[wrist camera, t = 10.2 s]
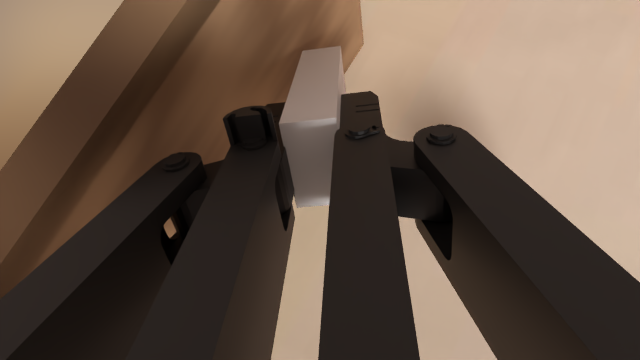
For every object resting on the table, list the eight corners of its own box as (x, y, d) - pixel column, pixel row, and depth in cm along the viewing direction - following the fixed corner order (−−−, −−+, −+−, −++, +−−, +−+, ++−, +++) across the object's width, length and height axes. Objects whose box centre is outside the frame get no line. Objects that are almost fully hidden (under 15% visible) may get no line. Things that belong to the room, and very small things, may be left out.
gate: (136, 394, 21) (-226, 582, 9) (111, 372, 22) (-268, 522, 9) (365, 41, 23) (345, -224, 11) (338, 27, 24) (288, -242, 11)
